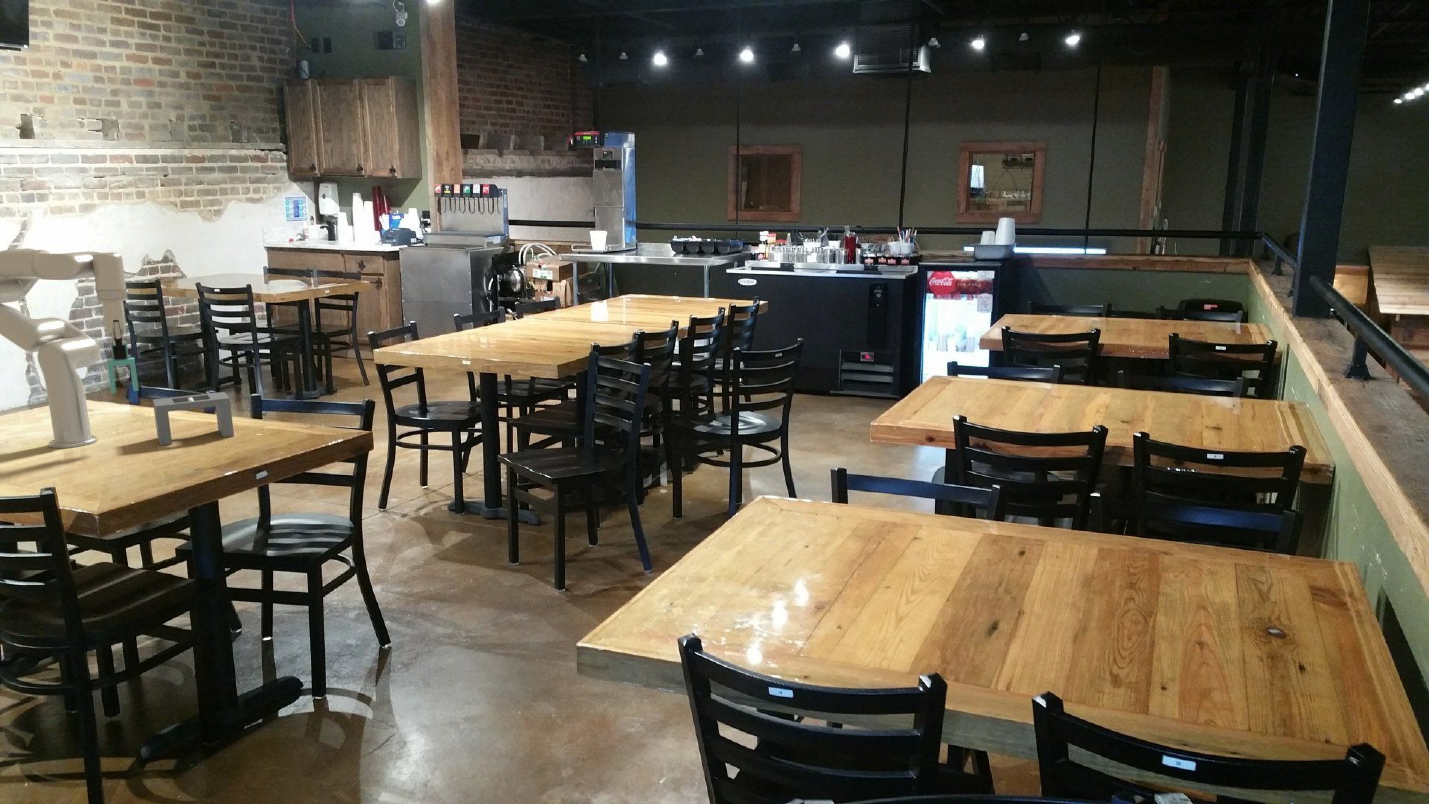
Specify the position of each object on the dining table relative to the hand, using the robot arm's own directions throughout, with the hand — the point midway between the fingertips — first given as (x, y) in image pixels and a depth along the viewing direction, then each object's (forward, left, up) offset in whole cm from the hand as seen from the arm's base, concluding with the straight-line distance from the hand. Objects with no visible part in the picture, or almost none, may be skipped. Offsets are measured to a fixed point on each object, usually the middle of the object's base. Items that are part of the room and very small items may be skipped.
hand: (120, 357), depth 301 cm
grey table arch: (0, +17, -27) cm, 32 cm away
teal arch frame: (0, 0, -10) cm, 10 cm away
